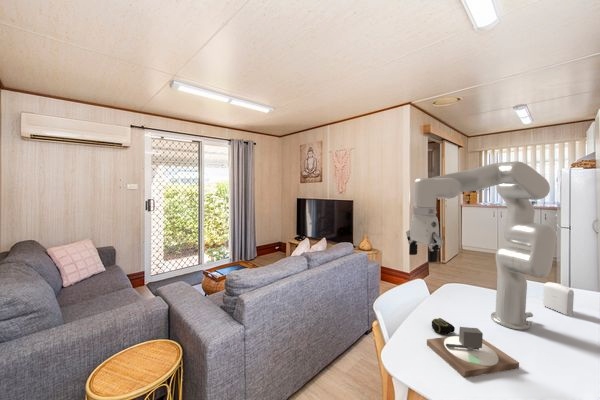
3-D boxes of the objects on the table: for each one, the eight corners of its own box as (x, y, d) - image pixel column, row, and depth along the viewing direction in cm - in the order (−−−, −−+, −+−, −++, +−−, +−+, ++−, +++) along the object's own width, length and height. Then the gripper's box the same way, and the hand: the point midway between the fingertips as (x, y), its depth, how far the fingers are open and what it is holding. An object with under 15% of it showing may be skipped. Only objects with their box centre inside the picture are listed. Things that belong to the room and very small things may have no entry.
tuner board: (473, 338, 95) (474, 333, 95) (518, 368, 79) (519, 362, 79) (426, 344, 91) (426, 339, 91) (464, 377, 75) (464, 371, 75)
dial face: (469, 334, 94) (469, 333, 94) (511, 362, 79) (511, 361, 79) (434, 339, 91) (434, 338, 91) (470, 369, 76) (470, 367, 76)
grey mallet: (476, 346, 86) (477, 328, 86) (481, 352, 83) (482, 333, 83) (444, 343, 87) (445, 325, 87) (448, 349, 84) (448, 330, 84)
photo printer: (540, 305, 122) (542, 280, 121) (547, 305, 123) (549, 279, 122) (567, 316, 112) (569, 289, 111) (574, 315, 113) (576, 288, 112)
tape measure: (455, 334, 97) (456, 325, 97) (441, 337, 95) (442, 328, 95) (440, 325, 104) (441, 316, 104) (427, 328, 102) (427, 319, 102)
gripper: (452, 214, 86) (450, 264, 87) (416, 209, 103) (414, 251, 104) (434, 214, 84) (431, 265, 85) (400, 209, 101) (398, 252, 102)
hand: (422, 258), depth 94 cm, fingers open, 9 cm apart
